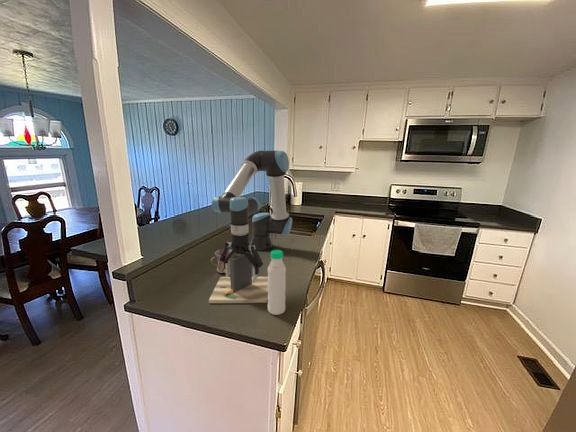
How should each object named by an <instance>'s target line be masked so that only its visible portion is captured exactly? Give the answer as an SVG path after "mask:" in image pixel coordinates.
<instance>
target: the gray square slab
mask: <svg viewBox="0 0 576 432" xmlns="http://www.w3.org/2000/svg"><path fill="white" fill-rule="evenodd" d="M246 253H247V252H246ZM252 266H253V265H252V263H251V262H250V261H249V259H248V258H247V257H246V256H245V255H244V254H243V255H242V254H237V255H235V256H232V257H231V258H230V275H229V277H230V280H231V290H229V291H227V292H225V293H224V294H225V295H226V294H228V293H230V292H232V291H233V292H236V291H238V290H240V289H242V288H244V287H246V286H248V285H250V284H252V277H253V267H252Z"/></svg>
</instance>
